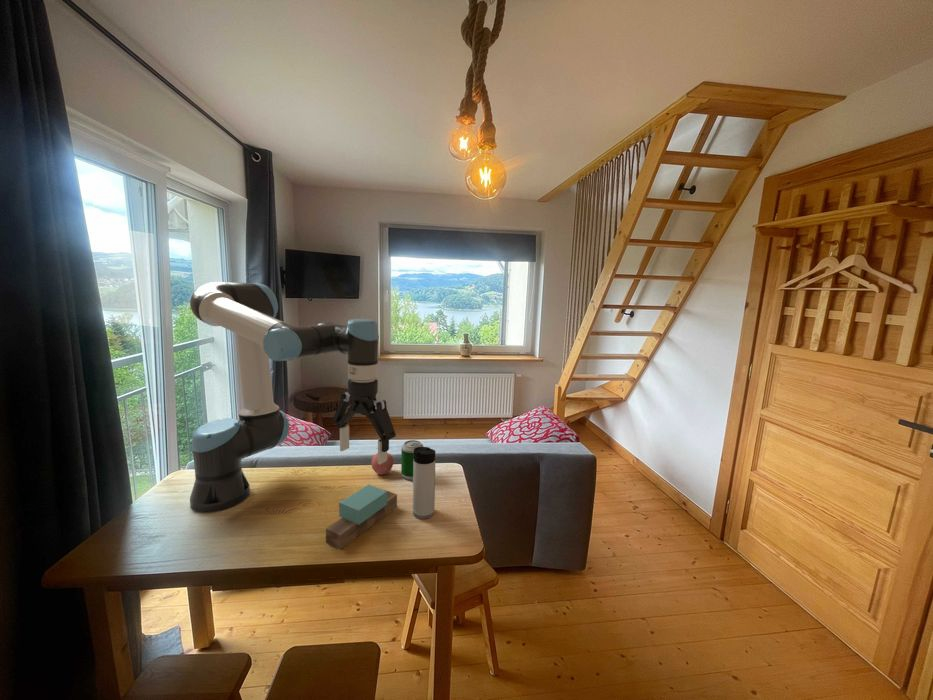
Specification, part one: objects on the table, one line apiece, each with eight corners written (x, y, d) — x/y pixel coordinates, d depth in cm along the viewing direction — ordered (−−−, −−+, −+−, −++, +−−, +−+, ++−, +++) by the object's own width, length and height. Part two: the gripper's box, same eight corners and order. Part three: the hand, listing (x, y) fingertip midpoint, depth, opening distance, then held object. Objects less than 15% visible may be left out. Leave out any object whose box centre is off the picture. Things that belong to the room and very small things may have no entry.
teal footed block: (339, 528, 101) (339, 502, 100) (368, 508, 110) (368, 484, 109) (358, 537, 98) (358, 510, 96) (387, 515, 107) (387, 491, 106)
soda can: (418, 482, 127) (419, 449, 125) (397, 479, 128) (398, 446, 126) (425, 472, 134) (426, 440, 132) (405, 469, 136) (406, 438, 134)
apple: (367, 475, 130) (367, 453, 129) (379, 466, 137) (379, 445, 136) (385, 480, 128) (385, 458, 126) (397, 470, 134) (397, 449, 133)
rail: (326, 542, 96) (325, 528, 95) (384, 501, 115) (384, 489, 114) (340, 549, 93) (339, 535, 93) (396, 506, 112) (397, 494, 112)
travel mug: (407, 513, 110) (408, 448, 106) (424, 504, 114) (425, 442, 111) (421, 522, 105) (422, 455, 102) (438, 513, 110) (440, 448, 107)
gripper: (317, 374, 100) (319, 449, 104) (391, 390, 88) (389, 474, 92) (339, 369, 107) (340, 440, 110) (410, 383, 95) (408, 462, 98)
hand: (362, 455), depth 101 cm, fingers open, 13 cm apart
